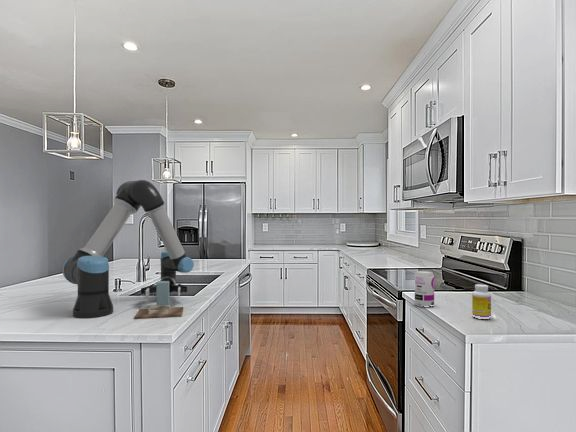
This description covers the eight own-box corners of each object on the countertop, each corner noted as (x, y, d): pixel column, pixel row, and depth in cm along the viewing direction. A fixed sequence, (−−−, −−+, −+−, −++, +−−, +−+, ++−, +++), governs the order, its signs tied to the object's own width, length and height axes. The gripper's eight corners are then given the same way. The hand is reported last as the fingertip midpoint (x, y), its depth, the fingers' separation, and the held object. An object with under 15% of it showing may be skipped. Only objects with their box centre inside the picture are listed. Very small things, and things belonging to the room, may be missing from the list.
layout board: (134, 319, 159) (134, 313, 159) (139, 310, 172) (139, 305, 172) (181, 316, 162) (181, 310, 162) (183, 308, 176) (183, 303, 176)
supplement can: (435, 304, 182) (434, 271, 182) (433, 308, 175) (433, 273, 175) (416, 303, 186) (416, 270, 186) (413, 306, 178) (413, 272, 178)
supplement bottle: (490, 321, 154) (490, 287, 154) (471, 318, 157) (471, 285, 157) (491, 317, 160) (491, 284, 160) (473, 315, 163) (473, 283, 163)
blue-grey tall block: (156, 308, 177) (156, 283, 177) (157, 305, 182) (157, 281, 182) (168, 307, 178) (168, 282, 178) (169, 305, 183) (169, 280, 183)
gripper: (193, 291, 201) (192, 300, 180) (139, 293, 196) (132, 303, 175) (193, 276, 201) (192, 283, 180) (139, 278, 196) (132, 285, 175)
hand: (162, 293), depth 177 cm, fingers open, 13 cm apart
